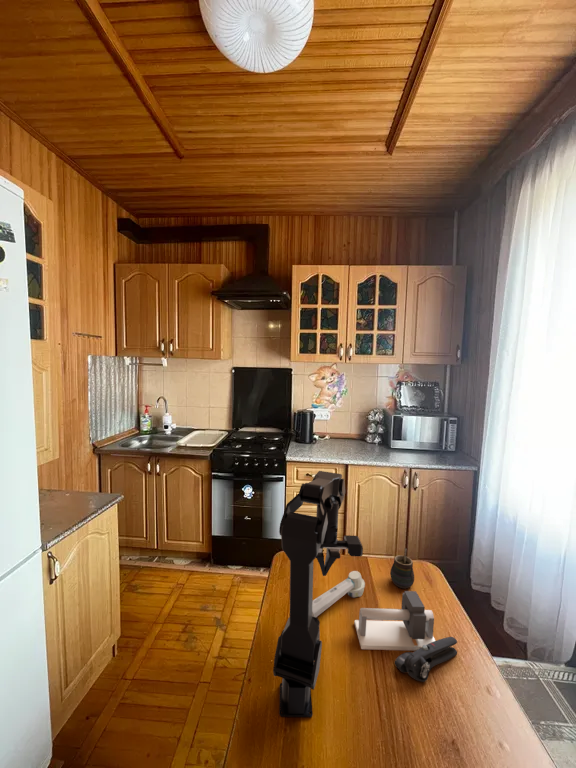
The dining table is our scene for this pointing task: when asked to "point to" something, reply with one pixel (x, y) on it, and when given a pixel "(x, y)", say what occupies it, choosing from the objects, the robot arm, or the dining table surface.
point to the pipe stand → (390, 629)
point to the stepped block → (414, 614)
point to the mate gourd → (402, 571)
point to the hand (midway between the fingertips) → (324, 574)
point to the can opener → (426, 658)
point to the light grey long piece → (339, 593)
